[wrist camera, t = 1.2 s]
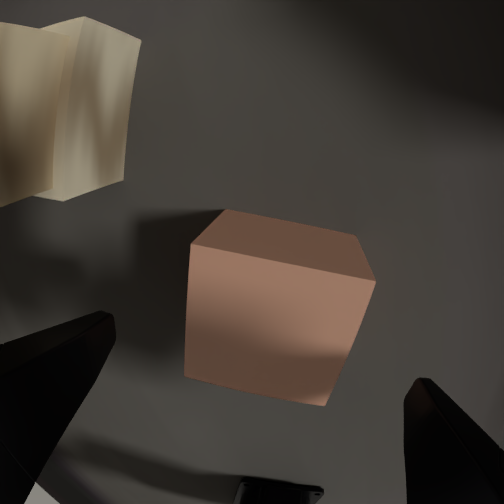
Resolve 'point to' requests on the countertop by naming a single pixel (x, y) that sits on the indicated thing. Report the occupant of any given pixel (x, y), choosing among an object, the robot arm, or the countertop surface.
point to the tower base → (92, 107)
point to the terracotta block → (273, 306)
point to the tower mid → (28, 108)
